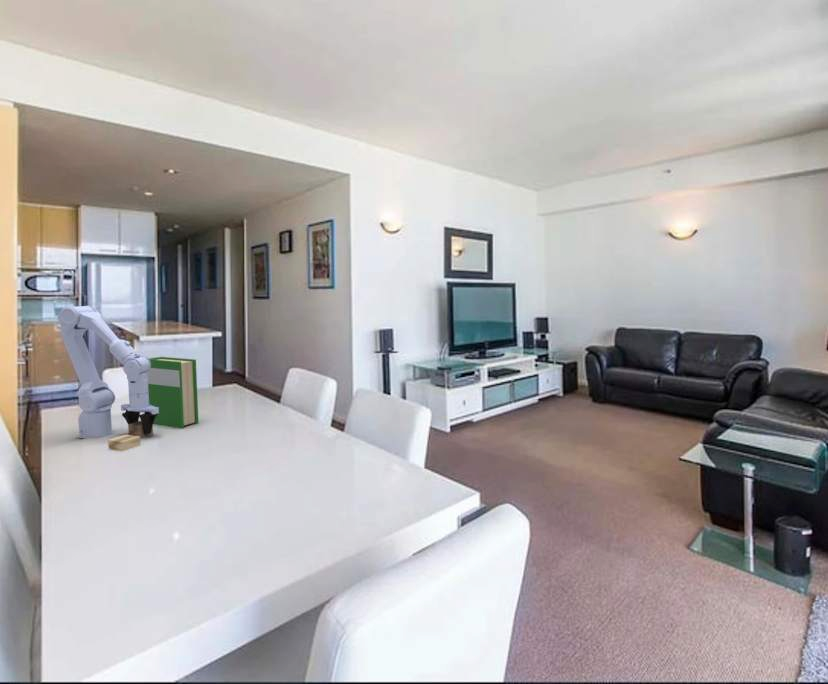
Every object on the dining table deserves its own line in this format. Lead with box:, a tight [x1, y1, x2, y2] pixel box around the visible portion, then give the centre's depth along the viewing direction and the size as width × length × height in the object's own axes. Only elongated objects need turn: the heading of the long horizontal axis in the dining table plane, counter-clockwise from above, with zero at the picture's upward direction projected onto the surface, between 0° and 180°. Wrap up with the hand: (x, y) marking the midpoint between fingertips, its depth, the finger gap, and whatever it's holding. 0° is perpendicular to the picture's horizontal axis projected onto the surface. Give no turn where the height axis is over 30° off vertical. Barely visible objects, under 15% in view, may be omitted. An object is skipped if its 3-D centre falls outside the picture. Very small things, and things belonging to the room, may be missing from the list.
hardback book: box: [148, 356, 199, 429], centre depth 176 cm, size 18×7×24 cm, turn 67°
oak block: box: [107, 434, 142, 452], centre depth 147 cm, size 6×6×3 cm
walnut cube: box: [127, 420, 154, 439], centre depth 160 cm, size 5×5×5 cm
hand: (140, 433), depth 160 cm, fingers open, 5 cm apart
